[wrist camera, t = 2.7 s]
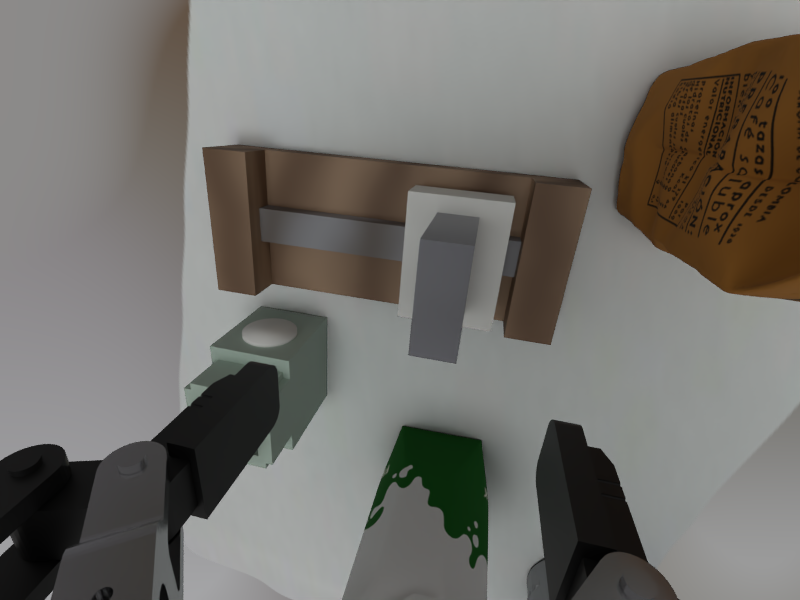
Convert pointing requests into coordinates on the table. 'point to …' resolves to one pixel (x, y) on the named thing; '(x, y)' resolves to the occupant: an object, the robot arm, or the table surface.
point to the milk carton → (426, 523)
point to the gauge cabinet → (296, 364)
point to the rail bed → (378, 227)
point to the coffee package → (723, 168)
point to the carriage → (451, 265)
